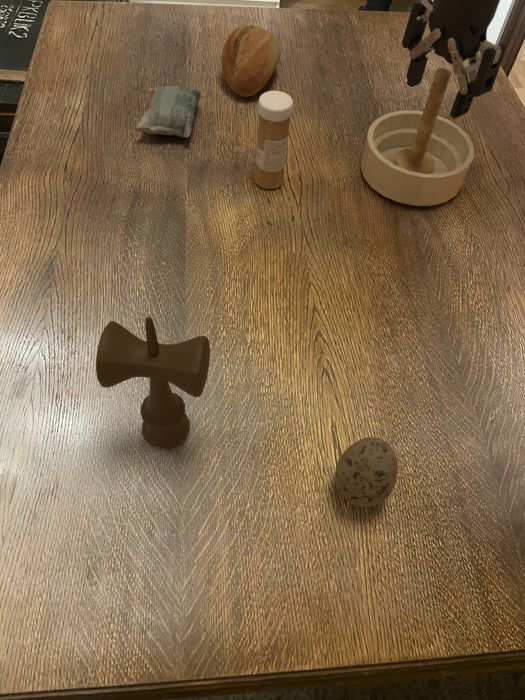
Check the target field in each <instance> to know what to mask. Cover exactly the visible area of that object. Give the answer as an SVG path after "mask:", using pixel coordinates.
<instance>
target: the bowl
mask: <svg viewBox="0 0 525 700" xmlns="http://www.w3.org/2000/svg"><path fill="white" fill-rule="evenodd" d="M422 115H423V111H421V110H398V111H392V112H388V113H385V114H384V115H381V116H380V117H378V118H376V119H375V120H374V121H373V122H372V124H371V125H370V126H369V127H368V131H367V134H366V139H365V140H366V141H365V143H364V148H363V153H362V156H361V161H360V169H361V173H362V176H363V178H364V180H365V181H366V183H368V185H369V187H370V188H372V189H373V190H374V191H376V192H377V193H378V194H380V195H381V196H382V197H384V198H387V199H389V200H392V201H394V202H397V203H400V204H405V205H410V206H413V207H414V206H415V207H416V206H417V207H424V206H426V207H427V206H428V207H430V206H437V205H439V204H443V203H446V202H448V201H450V200H451V199H452V198H454V197H456V196H457V195H458V193H459V192H460V191H461V189H462V187H463V185H464V182H465V180H466V177H467V175H468V173H469V171H470V168H471V165H472V163H473V162H474V158H475V146H474V143H473V141H472V139H471V137H470V136H469V135H468V133H466V132H465V130H464V129H463V128H462V127H461V126H459V125H458V124H456V123H455V122H453V121H451V119H450V120H449V119H448V118H445V117H442V116H440V115H437V118H436V121H435V124H434V127H433V130H432V133H431V136H430V139H429V142H428V145H427V148H426V151H425V152H427V153H428V154H430V155H431V156H432V157H433V159H434V161H435V167H434V170H433V172H432V174H423V173H418V172H413V171H408V170H406V169H404V168H401V167H399V166H396V165H394V160H395V157H396V155H397V153H398V152H399V151H401V150H403V149H407V148H412V147H413V144H414V141H415V137H416V134H417V131H418V128H419V124H420V121H421V118H422Z"/></svg>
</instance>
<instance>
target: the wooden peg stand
mask: <svg viewBox="0 0 525 700" xmlns="http://www.w3.org/2000/svg"><path fill="white" fill-rule="evenodd" d="M451 76H452V72H451V71H450V70H449V69H446V68H438V69H436V70H435V73H434V76H433V79H432V83H431V86H430V88H429V92H428V96H427V99H426V102H425V105H424V108H423V111H422V112H423V115H422V118H421V121H420V124H419V128H418V131H417V134H416V137H415V141H414V144H413V147H412V148H407V149H403V150H401V151H399V152H398V153H397V155H396V157H395V160H394V165H396V166H399V167H401V168H404V169H406V170H408V171H413V172H418V173H423V174H432V172H433V170H434V167H435V161H434V159H433V157H432V156H431V155H430V154H428V153H427V152H425V151H426V148H427V145H428V142H429V139H430V136H431V133H432V130H433V127H434V124H435V121H436V118H437V116H439V112H440V109H441V106H442V102H443V100H444V98H445V97H444V96H445V94H446V91H447V88H448V85H449V82H450V79H451Z"/></svg>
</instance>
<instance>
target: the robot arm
mask: <svg viewBox="0 0 525 700" xmlns="http://www.w3.org/2000/svg"><path fill="white" fill-rule="evenodd" d="M500 1H501V0H419V1H415V2H414V3H413V4H412V7H411V11H410V14H409V16H408V21H407V24H406V27H405V31H404V34H403V37H402V41H401V46H402V48H403V49H407V50H408V52H409V57H410V62H409V65H408V70H407V72H406V80H407V81H406V85H407V86H408V87H410V88H413V87H415V86H419V85H420V84H421V83H422V81H423V77H424V73H425V70H426V66H427V63H428V60H429V58H428V55H429V54H430V53H431V52H432V51H434V52H433V53H434V54H435V55H436V56H438V57H442V58H443V60H445V61H446V63H448V64H449V65H452V70H453V75H454V76H455V77H457V83H458V88H459V90H458V91H457V93H456V95H455V99H454V101H453V103H452V104H453V105H452V107H451V110H450V113H449V116H450V118H452V119H454V120H456V119H458V118H461V117H462V116H464V115H467V114H468V112H469V111H470V109H471V106H472V103H473V101H474V98H478V97H481V96H483V95H485V94H487V93H490V92H491V91H492V90H493V88H494V86H495V82H496V79H497V76H498V73H499V70H500V67H501V65H502V61H503V59H504V56H505V53H506V50H507V49H506V45H505V44H504V43H498V44H495V43H492V42H491V41H489V40H488V39H487V32H488V28H489V26H490V25H491V23H492V22H493V20H494V17H495V16H496V13H497V10H498V7H499V5H500V4H499V3H500ZM427 25H428V26H429V34H428V35H426V36H425V37H424V34H425V32H426V31H425V30H426V28H427ZM423 37H424V38H423ZM467 60H468V64H467V65H464V62H465V61H467Z"/></svg>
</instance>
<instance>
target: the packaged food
mask: <svg viewBox="0 0 525 700" xmlns="http://www.w3.org/2000/svg"><path fill="white" fill-rule="evenodd" d="M147 93H148V96H149V97H148V104H147V106H146V107H145V112H144V113H143V116H142V117H141V119H140V120H139V122H138V124H137V125H136V127H134V128H133V130H134V132H136V133H140V132H141V133H142V132H144V133H147V134H153V135H162V136H172V137H179V138H185V139H188V138H191V135H192V130H193V126H194V122H195V116H196V111H197V109H198V107H199V102H200V100H201V98H202V93H201V91H200V90H197V89H193V88H189V87H185V86H182V85H165V86H164V85H163V86H156V87H152V88H148V90H147Z"/></svg>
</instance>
